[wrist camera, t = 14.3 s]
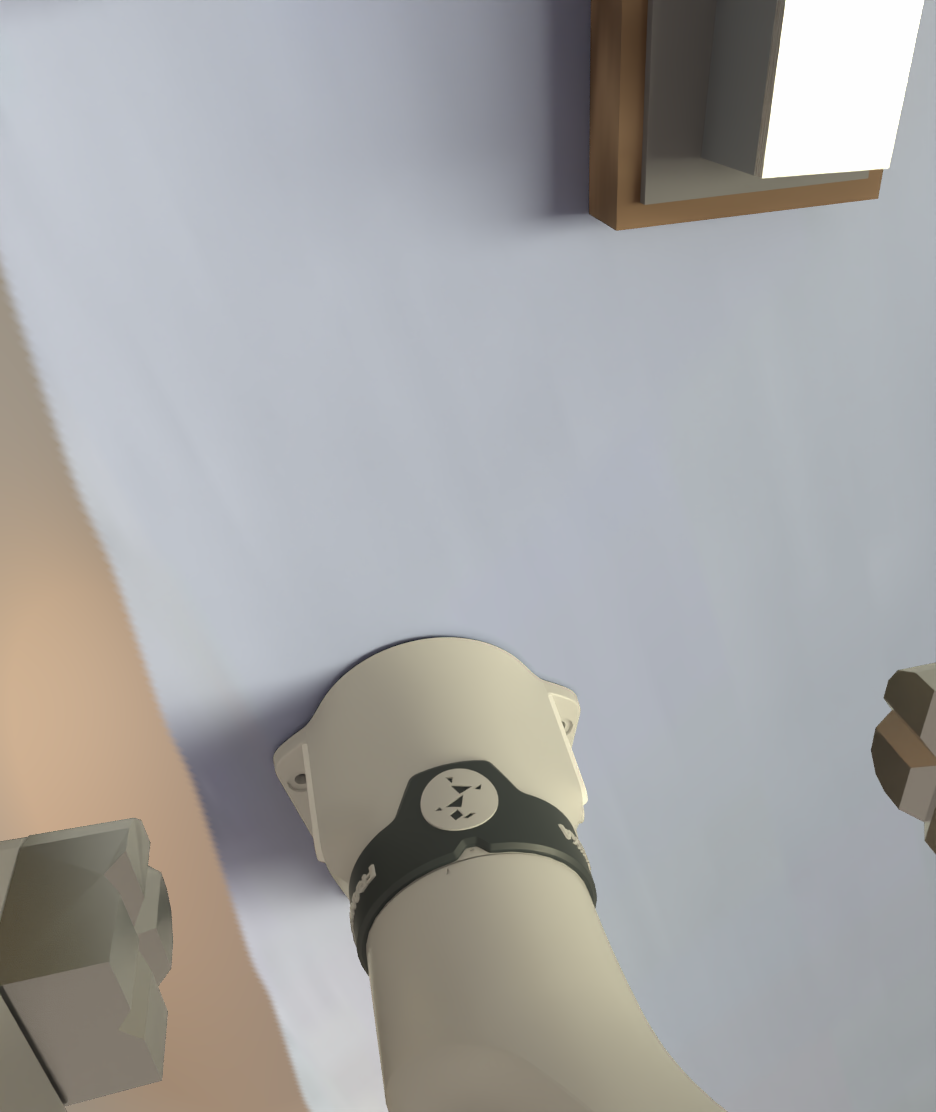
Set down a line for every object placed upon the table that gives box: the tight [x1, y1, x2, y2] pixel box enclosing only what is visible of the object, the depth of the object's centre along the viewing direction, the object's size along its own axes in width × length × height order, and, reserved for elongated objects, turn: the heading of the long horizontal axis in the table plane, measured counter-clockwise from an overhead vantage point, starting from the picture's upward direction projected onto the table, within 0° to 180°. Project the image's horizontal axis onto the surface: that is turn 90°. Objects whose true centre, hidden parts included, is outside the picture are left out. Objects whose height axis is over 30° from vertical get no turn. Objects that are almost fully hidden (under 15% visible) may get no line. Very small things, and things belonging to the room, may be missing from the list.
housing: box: [701, 0, 924, 178], centre depth 31 cm, size 5×9×5 cm, turn 2°
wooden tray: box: [589, 0, 883, 231], centre depth 35 cm, size 14×12×4 cm
